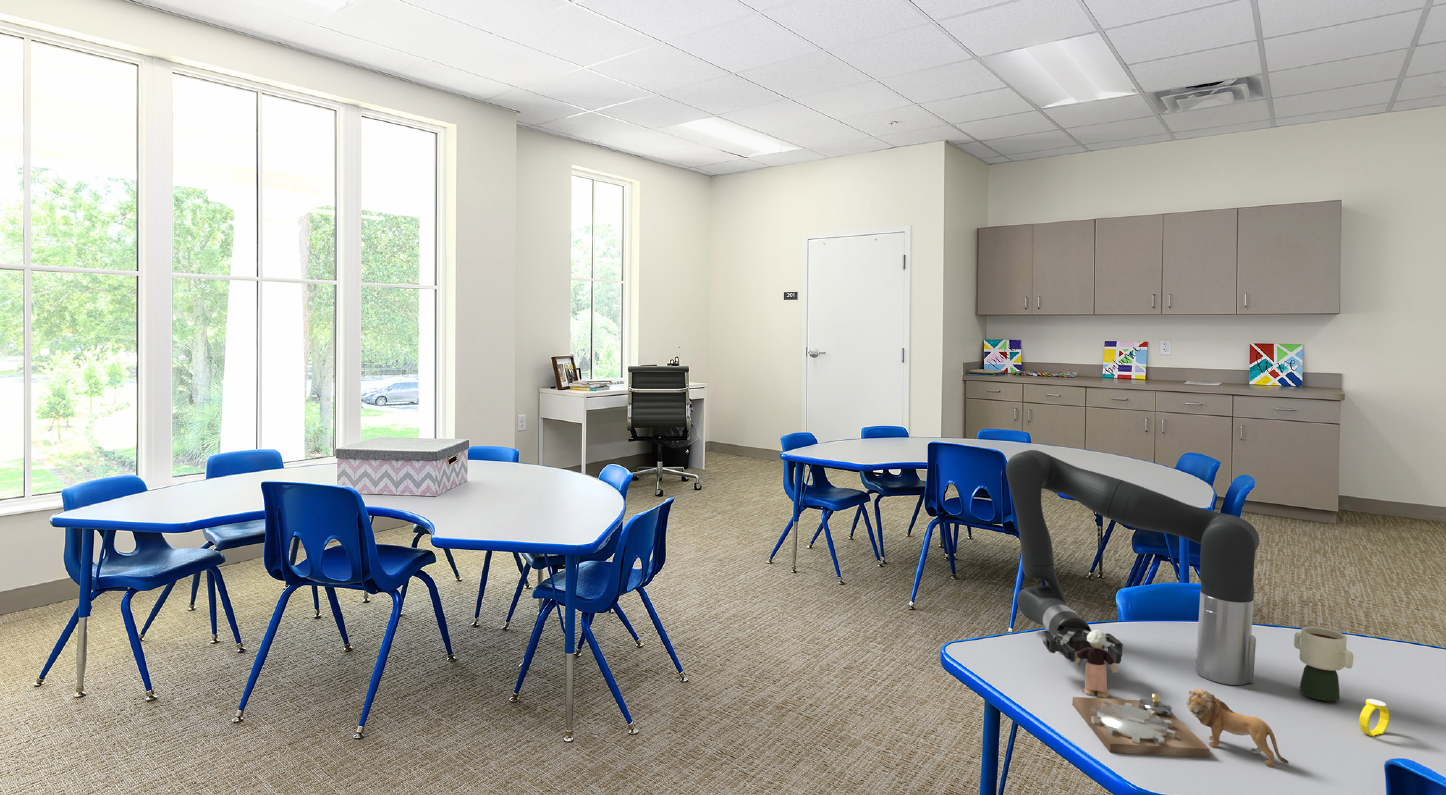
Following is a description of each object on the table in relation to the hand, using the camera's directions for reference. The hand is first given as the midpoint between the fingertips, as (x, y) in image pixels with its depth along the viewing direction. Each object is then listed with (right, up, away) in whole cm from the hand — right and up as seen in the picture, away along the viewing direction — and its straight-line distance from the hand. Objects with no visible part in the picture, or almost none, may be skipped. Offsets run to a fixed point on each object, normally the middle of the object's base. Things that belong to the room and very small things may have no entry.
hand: (1095, 658), depth 150 cm
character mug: (+44, -8, 0) cm, 45 cm away
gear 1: (-1, -7, -15) cm, 16 cm away
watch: (+43, -9, -14) cm, 46 cm away
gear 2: (+6, -7, -9) cm, 13 cm away
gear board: (+1, -8, -13) cm, 16 cm away
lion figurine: (+13, -9, -20) cm, 26 cm away
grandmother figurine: (0, -7, +1) cm, 8 cm away
